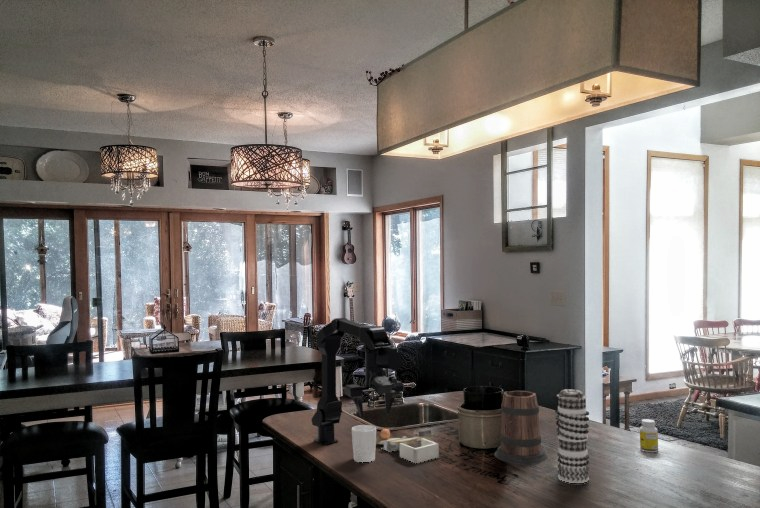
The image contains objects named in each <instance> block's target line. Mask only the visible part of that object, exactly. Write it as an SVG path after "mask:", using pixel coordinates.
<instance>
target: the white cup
mask: <svg viewBox="0 0 760 508" xmlns="http://www.w3.org/2000/svg"><path fill="white" fill-rule="evenodd" d="M376 437H377V427H376V426H375V425H370V424H360V425H354V426H352V427H351V440H352V452H353V460H354V462H356V463H359V462H362V463H361V464H364V463H363V462H369V463H372V462H375V460H376V450H377V449H376V446H377V444H376ZM371 461H372V462H371Z"/></svg>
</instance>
